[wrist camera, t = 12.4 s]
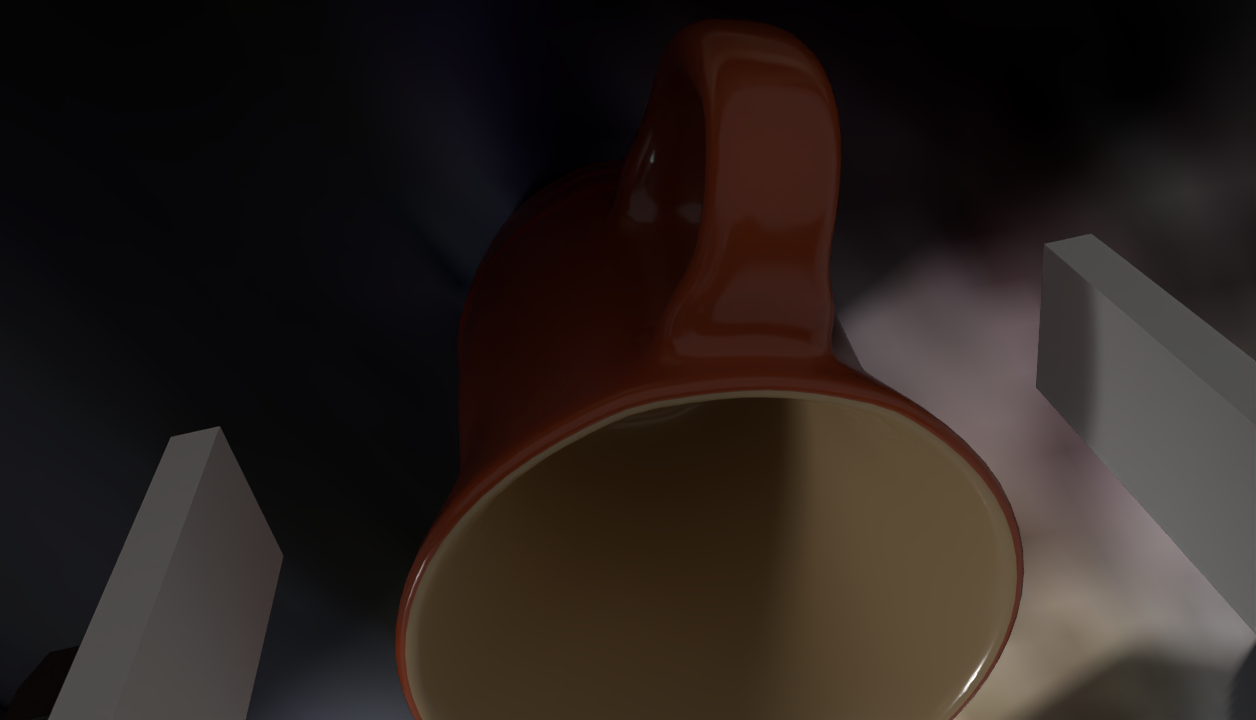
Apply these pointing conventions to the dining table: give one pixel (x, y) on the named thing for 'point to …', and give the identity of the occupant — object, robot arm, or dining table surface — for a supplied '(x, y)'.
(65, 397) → the dining table surface
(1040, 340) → the robot arm
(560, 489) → the mug
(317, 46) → the dining table surface
